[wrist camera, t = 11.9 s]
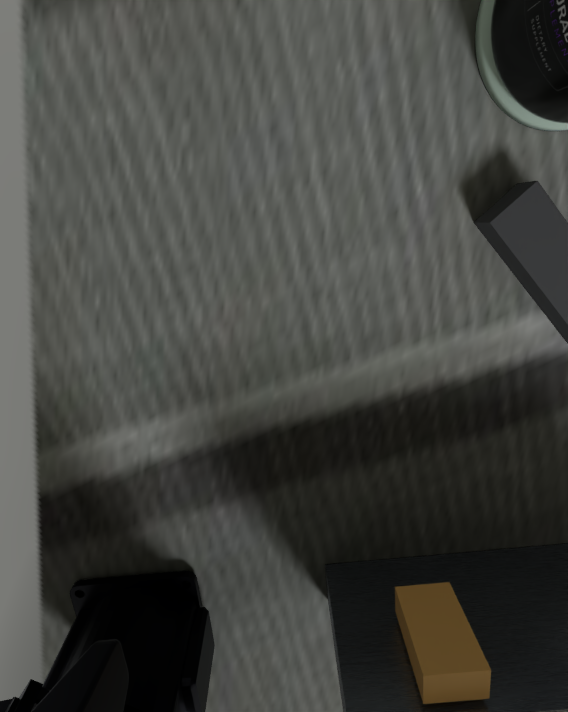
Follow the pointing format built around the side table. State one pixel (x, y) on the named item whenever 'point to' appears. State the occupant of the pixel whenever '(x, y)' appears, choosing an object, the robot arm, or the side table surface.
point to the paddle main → (441, 644)
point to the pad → (493, 78)
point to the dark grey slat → (532, 246)
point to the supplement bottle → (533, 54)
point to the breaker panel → (484, 613)
